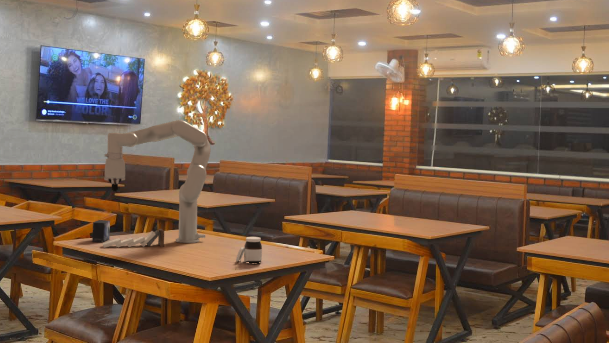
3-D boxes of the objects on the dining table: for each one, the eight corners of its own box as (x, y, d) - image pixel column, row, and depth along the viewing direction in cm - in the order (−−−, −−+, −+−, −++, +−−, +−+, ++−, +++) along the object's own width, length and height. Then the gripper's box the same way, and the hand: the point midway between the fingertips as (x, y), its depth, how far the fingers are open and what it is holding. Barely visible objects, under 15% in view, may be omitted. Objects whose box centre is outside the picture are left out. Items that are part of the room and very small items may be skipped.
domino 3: (127, 245, 367) (144, 238, 369) (129, 247, 362) (145, 240, 365) (126, 242, 366) (142, 236, 369) (127, 244, 362) (144, 237, 364)
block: (161, 244, 375) (161, 228, 374) (164, 246, 367) (164, 231, 367) (158, 244, 374) (158, 228, 373) (160, 246, 366) (161, 231, 366)
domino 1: (103, 246, 363) (120, 241, 365) (103, 247, 358) (121, 242, 360) (102, 243, 362) (119, 238, 365) (102, 244, 358) (120, 239, 360)
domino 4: (142, 245, 369) (154, 232, 371) (143, 246, 365) (155, 234, 366) (139, 243, 369) (152, 230, 371) (141, 244, 364) (153, 232, 366)
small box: (104, 242, 374) (104, 222, 373) (91, 242, 374) (92, 222, 373) (110, 239, 384) (110, 220, 384) (98, 239, 384) (98, 219, 384)
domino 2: (116, 246, 365) (132, 240, 367) (116, 247, 360) (134, 241, 362) (115, 243, 364) (132, 237, 367) (115, 244, 359) (133, 239, 362)
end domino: (147, 244, 371) (158, 231, 372) (149, 246, 366) (160, 233, 367) (145, 243, 370) (156, 229, 372) (147, 244, 365) (158, 231, 367)
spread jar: (263, 264, 327) (264, 239, 327) (238, 265, 324) (239, 239, 323) (257, 259, 339) (258, 235, 338) (233, 260, 336) (234, 235, 335)
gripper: (100, 156, 366) (100, 192, 367) (130, 156, 372) (130, 192, 373) (99, 155, 373) (99, 191, 374) (128, 156, 379) (128, 190, 380)
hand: (114, 191), depth 374 cm, fingers closed
